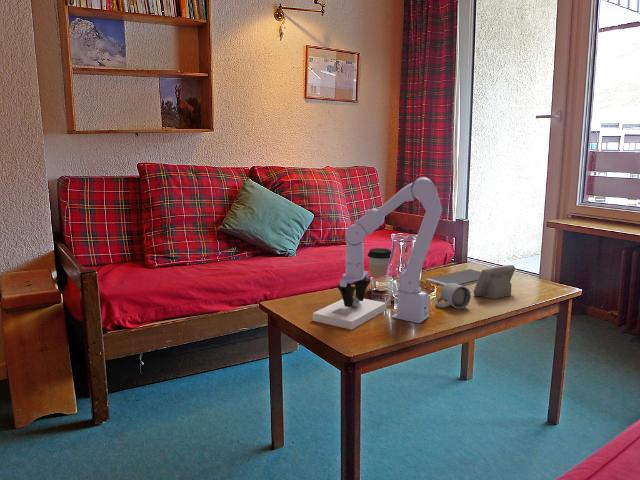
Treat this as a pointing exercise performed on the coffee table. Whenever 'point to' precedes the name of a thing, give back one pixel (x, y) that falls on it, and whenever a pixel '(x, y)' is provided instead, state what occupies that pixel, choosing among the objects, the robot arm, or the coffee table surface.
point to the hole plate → (349, 313)
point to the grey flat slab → (457, 278)
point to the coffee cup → (378, 261)
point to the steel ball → (355, 302)
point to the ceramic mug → (454, 296)
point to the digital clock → (495, 282)
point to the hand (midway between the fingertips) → (353, 303)
